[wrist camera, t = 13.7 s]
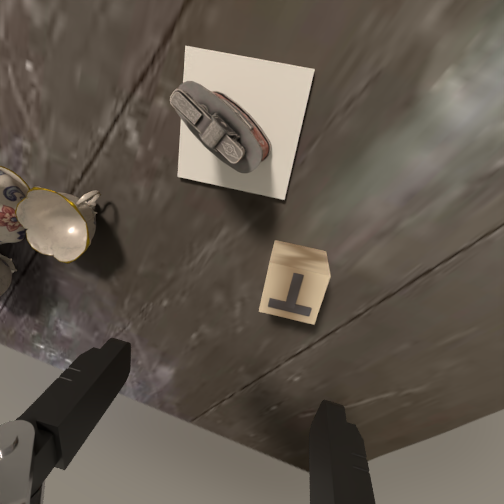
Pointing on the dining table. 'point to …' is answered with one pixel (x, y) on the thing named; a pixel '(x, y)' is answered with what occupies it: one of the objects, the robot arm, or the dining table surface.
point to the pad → (259, 107)
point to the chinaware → (43, 221)
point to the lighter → (222, 126)
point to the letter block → (295, 282)
